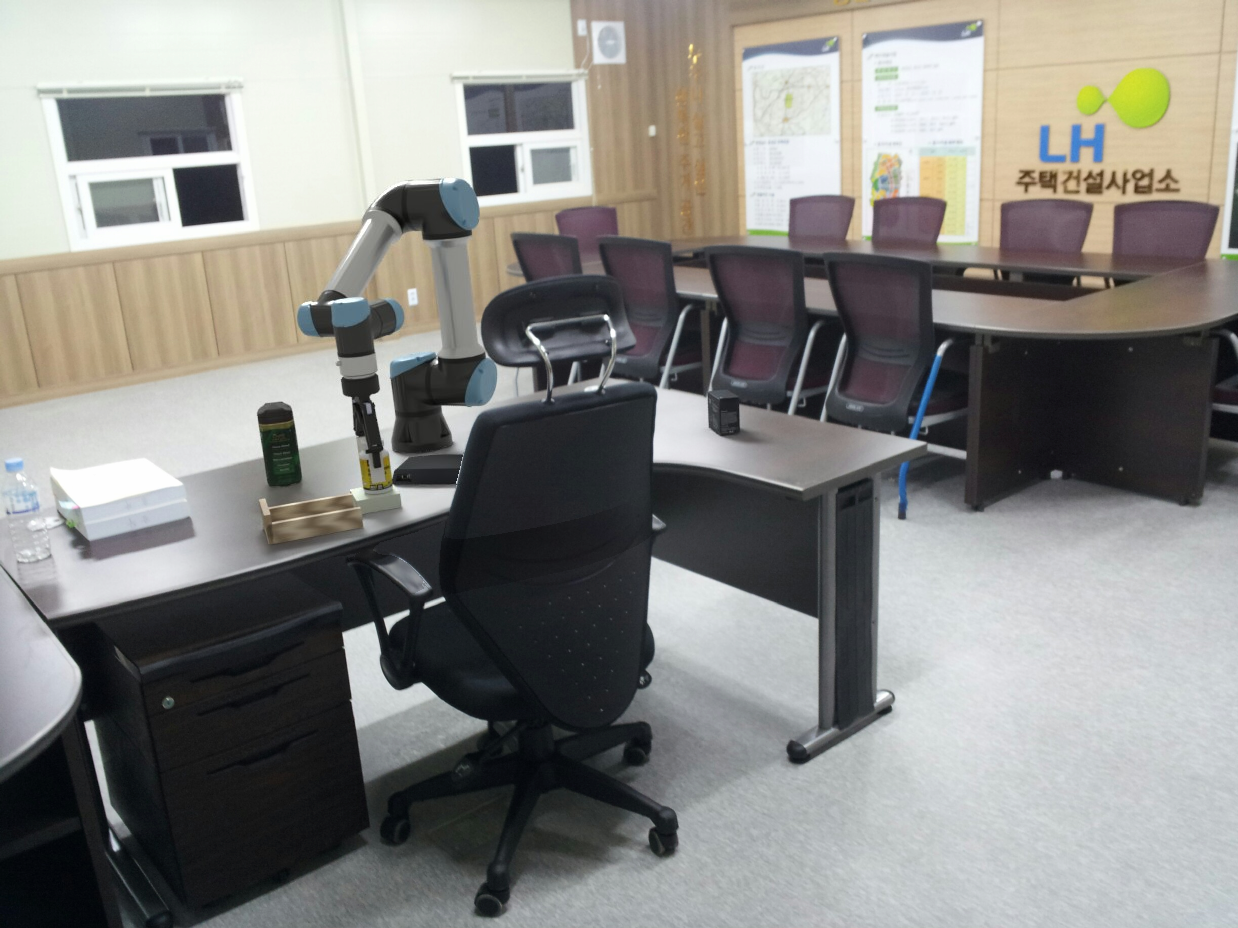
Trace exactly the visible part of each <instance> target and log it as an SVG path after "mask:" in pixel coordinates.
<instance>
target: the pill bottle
mask: <svg viewBox="0 0 1238 928" xmlns="http://www.w3.org/2000/svg"><path fill="white" fill-rule="evenodd" d="M381 441H382V446H383V451H382V457H383V465H384V472H385V480H386V481H385V482H380V483H374V484H372V480H371V473H370V466H369V458H368V454H366V453H365V451H366V450H368V446H367V442H366V439H364V440H362V441H361V447H362V449H363V451H361V452H360V454H358V461H359V467H360V475H361V482H362V487H363V490H364V492H365V493H367V494H382V493H386V492H389V491H390V490H392V488H393V483H392V477H393V474H392V467H391V466H392V465H391V460H390V453H389V451H388V450H387V448H386V447H385V441H384V438H382V437H381ZM373 446H377V445H373Z"/></svg>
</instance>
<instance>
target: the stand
mask: <svg viewBox="0 0 1238 928" xmlns="http://www.w3.org/2000/svg"><path fill="white" fill-rule="evenodd" d="M349 493H352V496H353V503H354V508H355V507H360V508H361V513H362V515H364V514H366V515H367V514H371V513H376V512H383V511H387V510H392V509H397V508H402V507H403V505H402V498H401V492H400V491H399V490H398V488H397V487H396V485H393V488H392V490H390V491H389V492H386V493H382V494H367V493H365V492H364V490H363V486H362V487H356V488H350V489H349Z"/></svg>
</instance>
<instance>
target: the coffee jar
mask: <svg viewBox="0 0 1238 928" xmlns="http://www.w3.org/2000/svg"><path fill="white" fill-rule="evenodd" d="M256 416H257V423H258V429H259V430H258V432H259V436H260V443H261V444H260V445H261V449H262V455H263V462H264V469H265V476H266V481H267V482H266V483H267V484H268V486H269V487H275V488H276V487H279V488H287V487H290V486H292V485H295V484H297V485H298V484H299V483H301V482H302V480H303V473H302V464H301V459H300V458H301V457H300V450H299V443H298V435H297V429H296V428H297V427H296V424H295V416H294V412H293V408H292V406H291V405H290V404H288V403H286V402H283V401H274V402H273V401H272V402H265V403H264V404H263V405H262V406H260V407H259V408H258V409H257V412H256Z"/></svg>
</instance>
